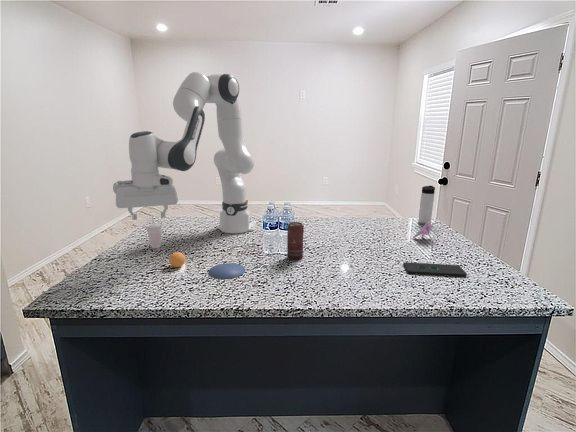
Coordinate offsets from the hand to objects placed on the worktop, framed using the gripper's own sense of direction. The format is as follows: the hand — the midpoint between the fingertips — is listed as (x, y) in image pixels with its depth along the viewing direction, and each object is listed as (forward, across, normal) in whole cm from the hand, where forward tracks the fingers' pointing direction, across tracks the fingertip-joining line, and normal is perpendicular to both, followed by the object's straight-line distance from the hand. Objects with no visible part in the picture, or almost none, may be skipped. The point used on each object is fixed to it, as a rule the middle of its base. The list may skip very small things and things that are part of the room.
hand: (149, 218), depth 121 cm
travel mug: (+16, +136, +3) cm, 137 cm away
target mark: (+18, +24, -16) cm, 34 cm away
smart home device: (+18, +93, -44) cm, 104 cm away
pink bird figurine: (+17, +116, -17) cm, 118 cm away
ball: (+15, +8, -5) cm, 18 cm away
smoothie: (+18, +2, +20) cm, 27 cm away
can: (+18, +52, -14) cm, 56 cm away
